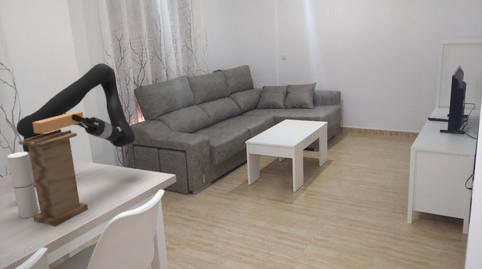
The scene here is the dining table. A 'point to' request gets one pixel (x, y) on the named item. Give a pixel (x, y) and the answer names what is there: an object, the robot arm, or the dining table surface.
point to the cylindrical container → (23, 184)
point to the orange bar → (55, 123)
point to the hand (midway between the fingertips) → (68, 116)
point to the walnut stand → (54, 177)
